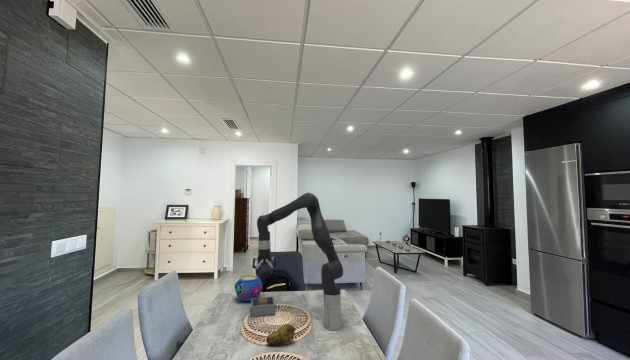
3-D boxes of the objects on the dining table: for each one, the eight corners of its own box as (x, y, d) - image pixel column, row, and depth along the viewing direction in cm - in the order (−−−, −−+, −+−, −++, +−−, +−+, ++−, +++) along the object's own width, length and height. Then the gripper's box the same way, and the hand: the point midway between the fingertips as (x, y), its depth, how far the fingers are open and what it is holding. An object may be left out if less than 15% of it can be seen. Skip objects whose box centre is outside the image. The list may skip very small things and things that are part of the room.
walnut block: (267, 311, 159) (267, 300, 160) (258, 311, 158) (258, 301, 158) (266, 307, 164) (266, 297, 164) (258, 308, 163) (258, 298, 163)
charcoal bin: (275, 315, 155) (275, 304, 156) (250, 317, 153) (250, 306, 153) (273, 306, 169) (273, 296, 170) (251, 308, 166) (251, 298, 167)
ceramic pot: (233, 297, 185) (233, 275, 186) (258, 294, 192) (258, 272, 193) (237, 306, 169) (237, 282, 170) (264, 302, 176) (264, 279, 177)
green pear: (270, 337, 130) (270, 320, 130) (296, 339, 128) (296, 322, 129) (265, 347, 122) (265, 328, 122) (292, 348, 120) (292, 330, 121)
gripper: (252, 249, 159) (252, 277, 157) (276, 248, 162) (276, 275, 160) (252, 247, 166) (252, 273, 164) (275, 246, 169) (275, 272, 168)
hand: (264, 274), depth 162 cm, fingers open, 8 cm apart
